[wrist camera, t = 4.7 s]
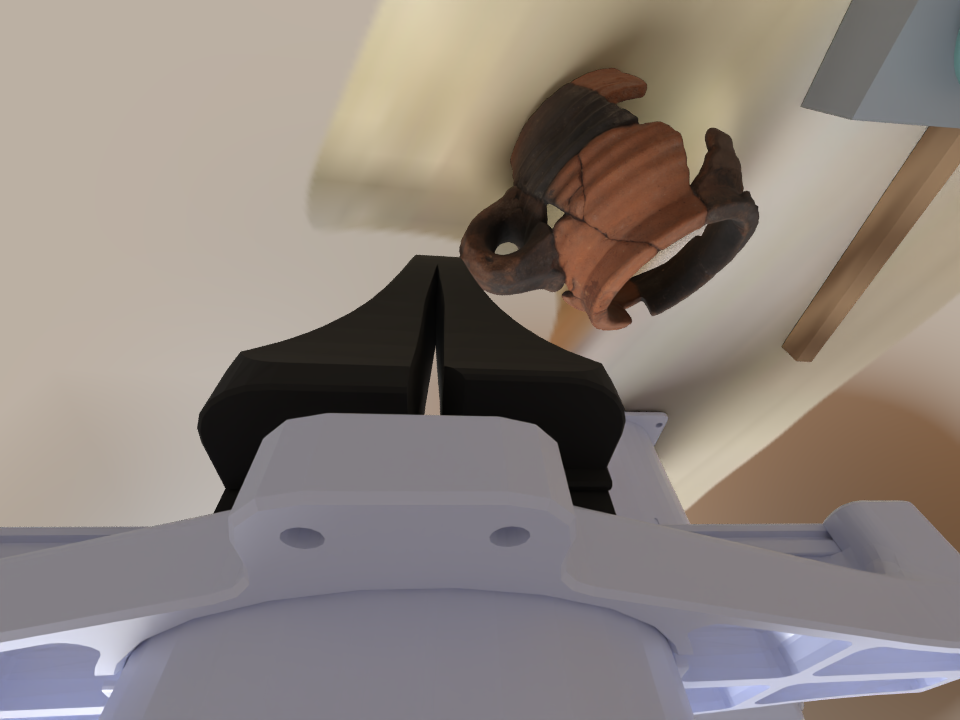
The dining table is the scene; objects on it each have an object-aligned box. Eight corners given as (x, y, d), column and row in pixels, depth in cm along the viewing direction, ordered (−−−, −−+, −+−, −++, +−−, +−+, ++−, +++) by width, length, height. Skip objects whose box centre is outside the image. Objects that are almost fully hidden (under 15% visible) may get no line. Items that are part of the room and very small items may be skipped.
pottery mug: (683, 9, 16) (843, 134, 13) (634, 193, 25) (722, 297, 21) (402, 128, 16) (492, 292, 12) (451, 274, 24) (512, 395, 21)
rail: (796, 347, 27) (811, 361, 26) (781, 346, 27) (796, 361, 26) (972, 93, 18) (1008, 98, 17) (952, 91, 18) (986, 96, 17)
